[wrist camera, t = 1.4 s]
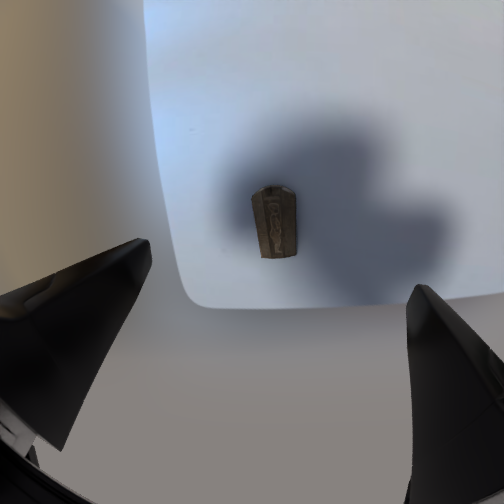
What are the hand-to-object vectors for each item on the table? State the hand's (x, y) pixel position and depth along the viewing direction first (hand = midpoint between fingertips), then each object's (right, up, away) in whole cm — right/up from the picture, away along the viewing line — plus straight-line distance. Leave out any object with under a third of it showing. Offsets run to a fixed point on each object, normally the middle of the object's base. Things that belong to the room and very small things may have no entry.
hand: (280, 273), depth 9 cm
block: (+1, +3, +16) cm, 17 cm away
